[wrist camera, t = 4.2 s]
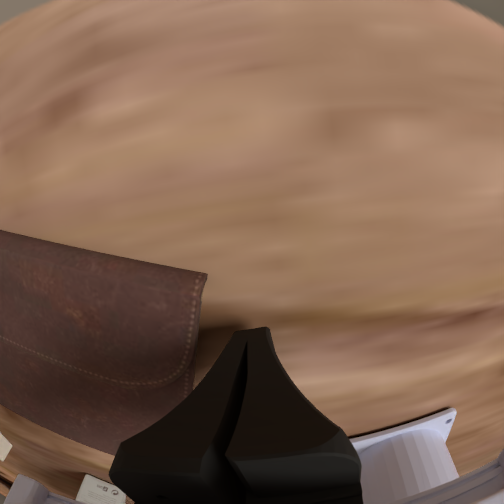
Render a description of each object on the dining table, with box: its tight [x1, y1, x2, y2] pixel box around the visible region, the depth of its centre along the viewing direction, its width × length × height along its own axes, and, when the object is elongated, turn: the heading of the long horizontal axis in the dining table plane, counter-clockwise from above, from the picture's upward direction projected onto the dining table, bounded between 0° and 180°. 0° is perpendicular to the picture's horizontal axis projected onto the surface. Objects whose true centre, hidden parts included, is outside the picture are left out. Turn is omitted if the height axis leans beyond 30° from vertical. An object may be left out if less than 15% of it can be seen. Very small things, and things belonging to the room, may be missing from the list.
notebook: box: [0, 230, 208, 456], centre depth 14 cm, size 15×20×2 cm
